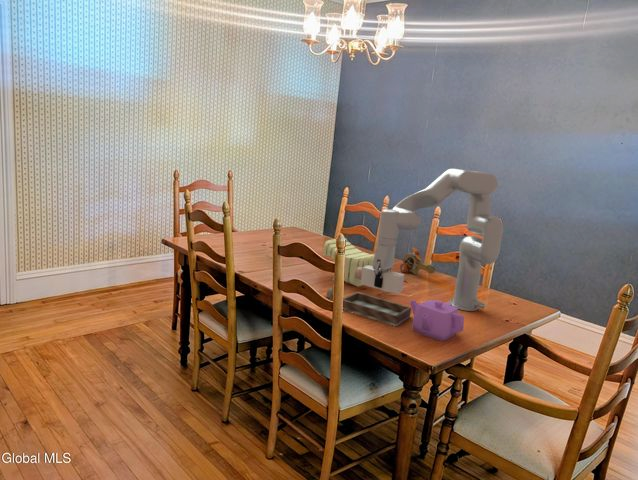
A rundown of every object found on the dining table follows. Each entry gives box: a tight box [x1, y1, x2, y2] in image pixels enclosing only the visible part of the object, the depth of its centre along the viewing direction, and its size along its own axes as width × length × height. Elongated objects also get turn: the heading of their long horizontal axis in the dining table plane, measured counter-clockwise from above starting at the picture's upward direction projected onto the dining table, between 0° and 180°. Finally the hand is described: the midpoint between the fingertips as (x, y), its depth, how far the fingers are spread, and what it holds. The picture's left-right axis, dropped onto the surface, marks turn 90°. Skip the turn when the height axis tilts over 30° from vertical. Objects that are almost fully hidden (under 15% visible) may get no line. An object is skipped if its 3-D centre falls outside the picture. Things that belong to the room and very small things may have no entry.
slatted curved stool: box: [322, 237, 375, 287], centre depth 233 cm, size 30×16×18 cm, turn 47°
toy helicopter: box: [399, 246, 436, 275], centre depth 254 cm, size 8×21×14 cm, turn 38°
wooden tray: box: [342, 291, 412, 327], centre depth 194 cm, size 25×14×4 cm, turn 56°
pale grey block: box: [355, 265, 405, 295], centre depth 192 cm, size 19×5×7 cm, turn 58°
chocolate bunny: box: [325, 277, 335, 300], centre depth 206 cm, size 6×8×10 cm
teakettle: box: [409, 299, 465, 342], centre depth 180 cm, size 17×17×12 cm
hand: (381, 285), depth 191 cm, fingers closed on pale grey block, 5 cm apart
